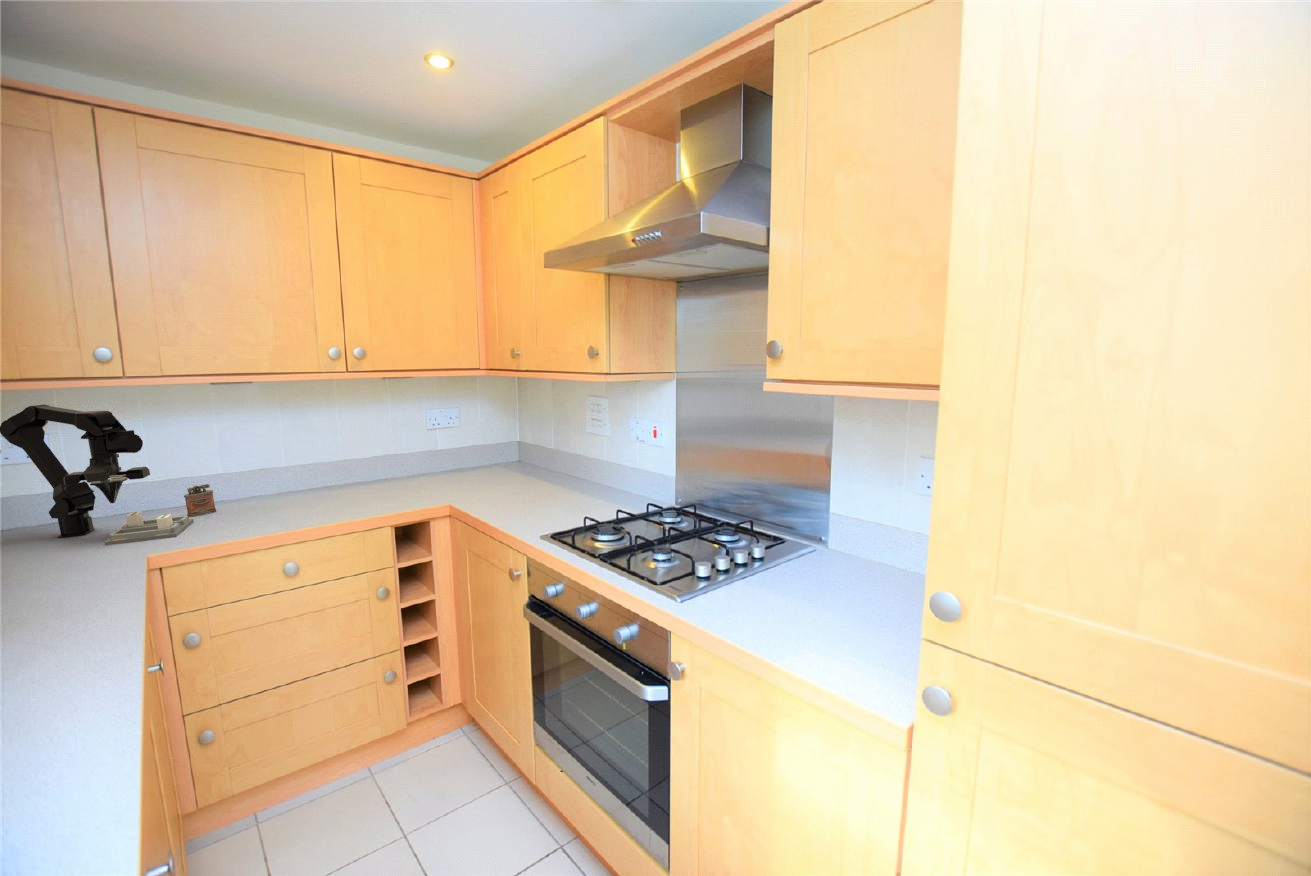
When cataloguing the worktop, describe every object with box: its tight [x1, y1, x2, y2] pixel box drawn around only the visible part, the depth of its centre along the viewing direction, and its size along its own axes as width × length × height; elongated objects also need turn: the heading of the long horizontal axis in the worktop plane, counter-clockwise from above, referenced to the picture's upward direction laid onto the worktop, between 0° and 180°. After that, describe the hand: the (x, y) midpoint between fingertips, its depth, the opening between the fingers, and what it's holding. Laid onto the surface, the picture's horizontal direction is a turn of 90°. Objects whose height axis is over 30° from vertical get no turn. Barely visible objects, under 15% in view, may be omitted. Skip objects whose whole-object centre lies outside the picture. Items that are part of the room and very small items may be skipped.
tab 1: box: [125, 511, 144, 526], centre depth 183 cm, size 2×4×5 cm, turn 22°
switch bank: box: [103, 515, 195, 546], centre depth 182 cm, size 17×16×2 cm
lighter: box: [183, 483, 217, 518], centre depth 200 cm, size 8×3×10 cm, turn 143°
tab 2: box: [155, 513, 173, 529], centre depth 179 cm, size 2×4×5 cm, turn 22°
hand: (112, 502), depth 180 cm, fingers closed
